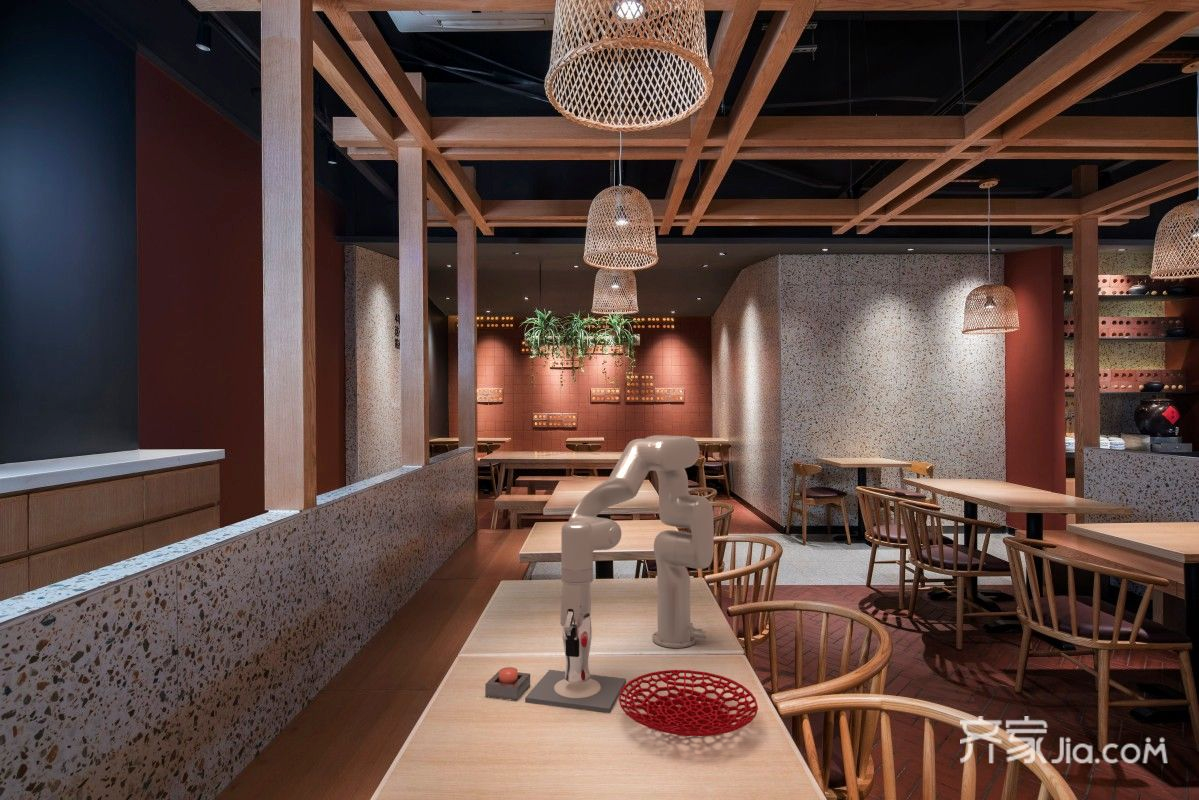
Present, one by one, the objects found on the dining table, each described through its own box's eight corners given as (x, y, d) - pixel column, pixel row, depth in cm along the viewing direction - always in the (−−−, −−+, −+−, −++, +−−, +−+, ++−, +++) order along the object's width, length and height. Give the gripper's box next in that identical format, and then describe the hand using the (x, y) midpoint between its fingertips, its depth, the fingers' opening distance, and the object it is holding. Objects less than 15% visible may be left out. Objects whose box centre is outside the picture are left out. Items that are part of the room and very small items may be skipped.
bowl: (668, 775, 113) (668, 748, 113) (595, 707, 140) (595, 685, 140) (788, 736, 127) (788, 712, 127) (701, 681, 153) (701, 661, 153)
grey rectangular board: (626, 682, 152) (626, 677, 152) (609, 713, 137) (609, 707, 137) (549, 673, 158) (549, 668, 158) (525, 702, 142) (525, 696, 142)
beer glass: (588, 685, 143) (588, 620, 143) (559, 683, 145) (559, 618, 145) (594, 673, 150) (594, 610, 150) (566, 670, 151) (566, 609, 152)
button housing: (530, 686, 151) (530, 673, 151) (517, 700, 143) (517, 687, 143) (499, 682, 153) (499, 670, 153) (485, 696, 145) (485, 683, 145)
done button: (520, 680, 149) (520, 668, 149) (513, 688, 145) (513, 675, 145) (503, 678, 150) (503, 666, 151) (495, 686, 146) (495, 673, 146)
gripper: (573, 565, 157) (573, 636, 157) (549, 583, 140) (549, 662, 140) (602, 566, 155) (602, 639, 155) (581, 585, 138) (581, 666, 138)
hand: (577, 649), depth 147 cm, fingers closed on beer glass, 6 cm apart
